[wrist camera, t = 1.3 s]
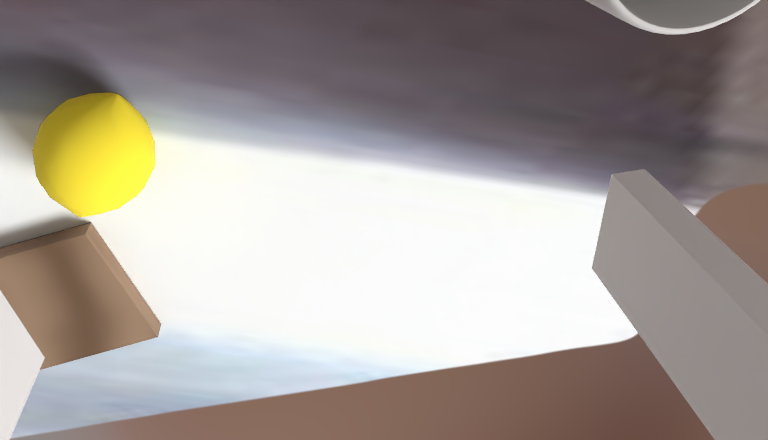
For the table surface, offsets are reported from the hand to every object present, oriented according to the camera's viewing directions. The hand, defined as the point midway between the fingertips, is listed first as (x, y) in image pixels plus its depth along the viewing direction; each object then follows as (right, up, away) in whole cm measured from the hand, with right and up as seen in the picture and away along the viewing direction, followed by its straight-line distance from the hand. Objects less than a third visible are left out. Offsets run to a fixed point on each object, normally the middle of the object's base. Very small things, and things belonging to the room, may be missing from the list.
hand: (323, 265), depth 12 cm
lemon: (-14, +6, +18) cm, 23 cm away
